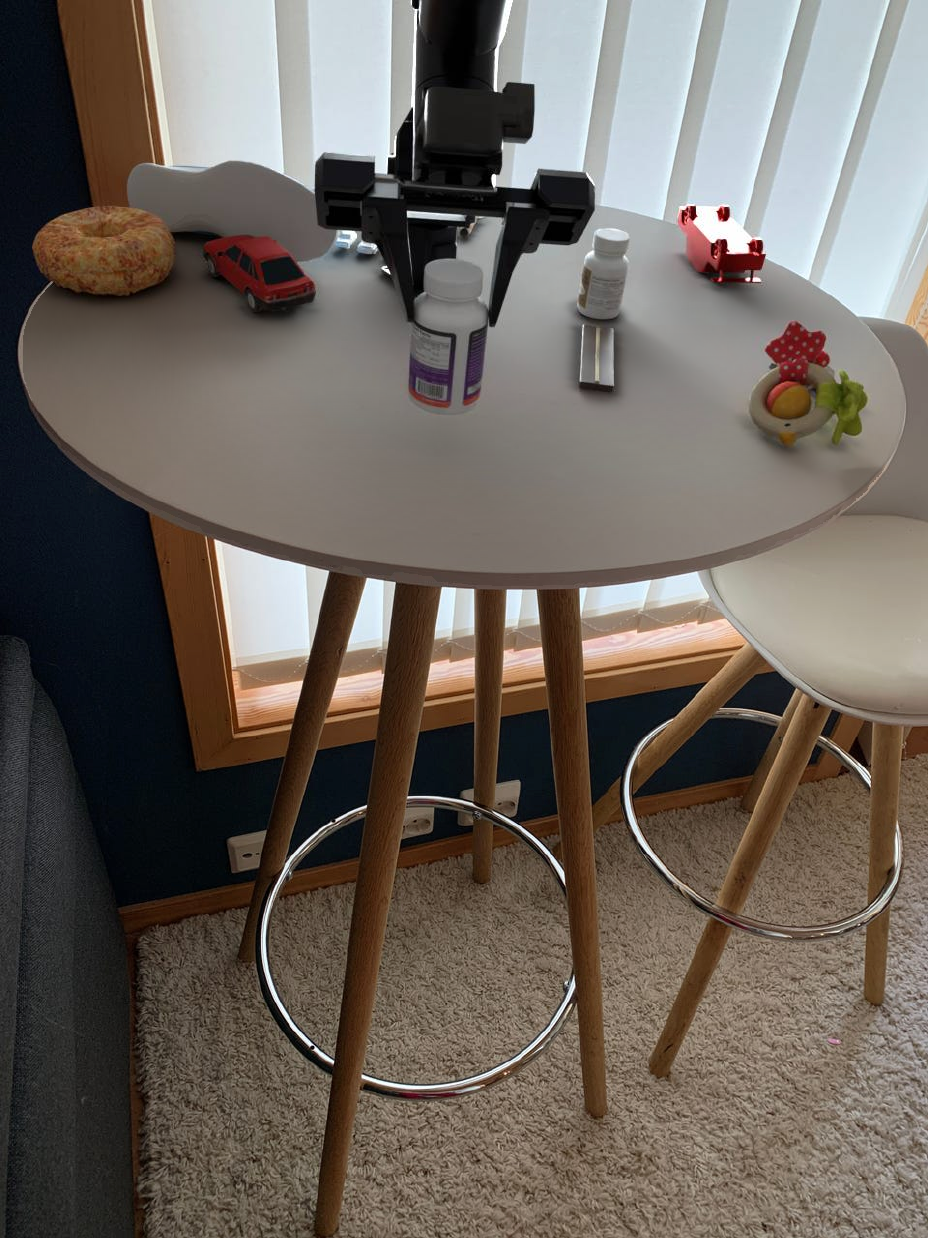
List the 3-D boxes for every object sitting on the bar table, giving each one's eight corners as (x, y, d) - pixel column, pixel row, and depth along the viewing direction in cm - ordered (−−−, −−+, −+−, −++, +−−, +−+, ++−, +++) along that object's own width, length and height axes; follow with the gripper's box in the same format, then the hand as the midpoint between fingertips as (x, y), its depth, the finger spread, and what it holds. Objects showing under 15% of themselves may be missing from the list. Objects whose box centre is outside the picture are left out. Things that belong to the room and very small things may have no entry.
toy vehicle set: (311, 247, 101) (310, 229, 100) (321, 234, 104) (321, 218, 102) (419, 265, 100) (420, 248, 99) (426, 253, 103) (428, 236, 101)
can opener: (458, 227, 106) (459, 238, 107) (479, 226, 106) (480, 236, 107) (466, 206, 113) (467, 216, 114) (485, 204, 113) (486, 214, 114)
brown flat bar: (581, 329, 92) (583, 323, 91) (612, 334, 91) (613, 327, 91) (578, 387, 83) (580, 380, 82) (612, 392, 82) (614, 385, 82)
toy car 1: (254, 254, 97) (249, 205, 93) (324, 311, 89) (323, 260, 86) (196, 266, 94) (189, 216, 90) (264, 327, 86) (259, 274, 83)
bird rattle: (798, 447, 74) (895, 379, 73) (712, 357, 78) (803, 292, 78) (796, 482, 79) (886, 419, 79) (716, 396, 84) (801, 336, 83)
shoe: (330, 176, 90) (378, 168, 100) (120, 139, 95) (186, 134, 105) (326, 274, 95) (372, 257, 105) (126, 234, 99) (189, 221, 109)
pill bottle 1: (462, 376, 72) (475, 251, 66) (491, 412, 69) (507, 282, 62) (396, 384, 70) (402, 256, 64) (422, 421, 67) (431, 289, 60)
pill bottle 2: (579, 299, 97) (592, 222, 92) (621, 306, 97) (636, 230, 91) (573, 315, 94) (586, 237, 89) (616, 323, 93) (632, 245, 88)
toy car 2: (723, 245, 99) (711, 290, 102) (772, 246, 100) (758, 290, 103) (680, 197, 109) (670, 240, 112) (724, 198, 110) (713, 240, 113)
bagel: (180, 241, 85) (191, 294, 88) (158, 192, 94) (169, 242, 98) (31, 263, 82) (48, 317, 85) (24, 210, 91) (40, 261, 94)
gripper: (313, 7, 56) (307, 265, 55) (618, 36, 58) (616, 285, 57) (320, 114, 67) (315, 330, 66) (576, 135, 69) (574, 345, 68)
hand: (451, 322), depth 64 cm, fingers closed on pill bottle 1, 5 cm apart
